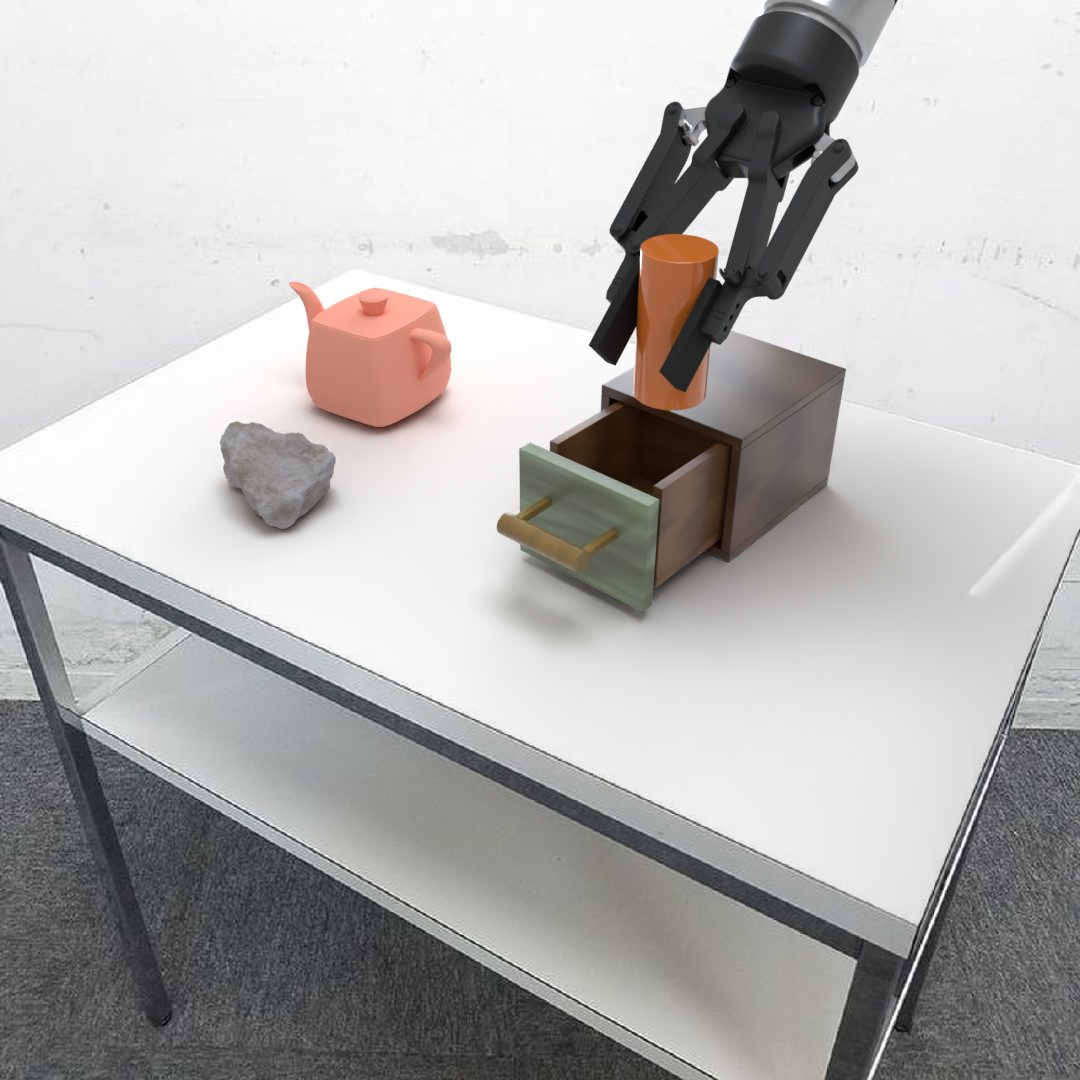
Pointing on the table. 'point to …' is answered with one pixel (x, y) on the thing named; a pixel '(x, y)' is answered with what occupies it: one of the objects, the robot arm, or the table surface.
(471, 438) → the table surface
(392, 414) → the teapot
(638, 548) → the drawer
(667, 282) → the canister
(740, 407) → the cabinet
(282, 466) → the stone
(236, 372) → the table surface
